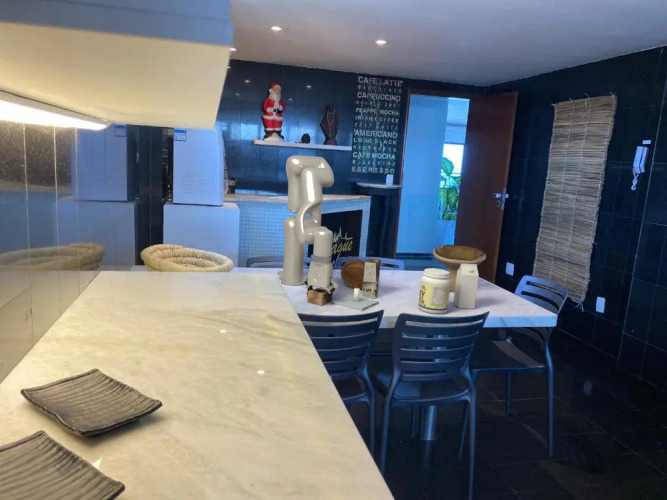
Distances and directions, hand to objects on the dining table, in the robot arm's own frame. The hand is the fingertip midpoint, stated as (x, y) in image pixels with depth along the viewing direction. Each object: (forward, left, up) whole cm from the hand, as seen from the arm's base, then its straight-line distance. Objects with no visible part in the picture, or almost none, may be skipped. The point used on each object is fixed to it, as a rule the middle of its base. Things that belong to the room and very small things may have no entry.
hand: (319, 299), depth 210 cm
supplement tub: (+40, +26, -2) cm, 48 cm away
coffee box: (+10, +26, -2) cm, 28 cm away
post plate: (+12, +10, -1) cm, 16 cm away
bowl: (+34, +70, -2) cm, 78 cm away
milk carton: (+48, +42, -2) cm, 64 cm away
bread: (-6, +41, -2) cm, 41 cm away
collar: (0, 0, -1) cm, 1 cm away
